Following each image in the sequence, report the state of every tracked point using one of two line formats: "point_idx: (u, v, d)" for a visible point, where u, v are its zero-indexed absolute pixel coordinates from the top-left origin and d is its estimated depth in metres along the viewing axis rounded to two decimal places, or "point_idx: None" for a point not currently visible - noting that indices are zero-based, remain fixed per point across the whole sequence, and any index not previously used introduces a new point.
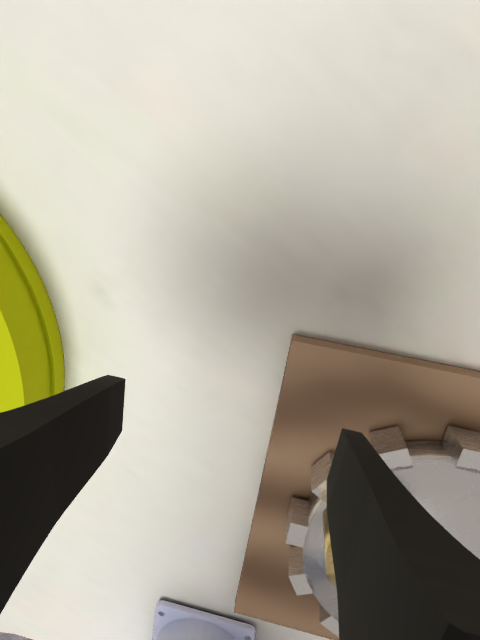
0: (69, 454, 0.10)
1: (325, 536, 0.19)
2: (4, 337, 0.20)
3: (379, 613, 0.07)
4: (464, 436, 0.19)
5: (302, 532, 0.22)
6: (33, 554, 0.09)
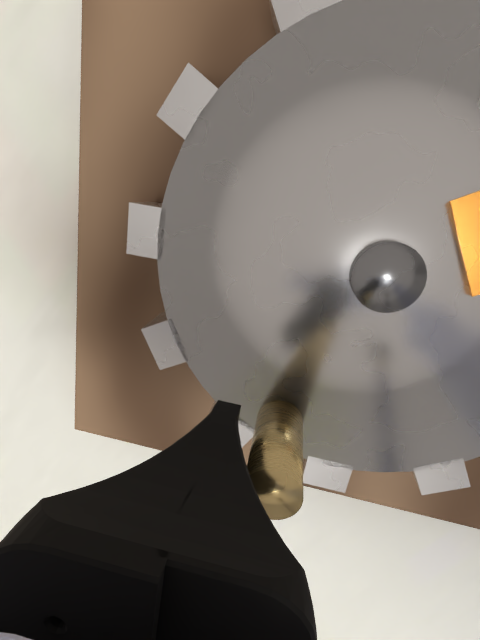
0: None
1: None
2: None
3: None
4: None
5: (319, 468, 0.13)
6: None
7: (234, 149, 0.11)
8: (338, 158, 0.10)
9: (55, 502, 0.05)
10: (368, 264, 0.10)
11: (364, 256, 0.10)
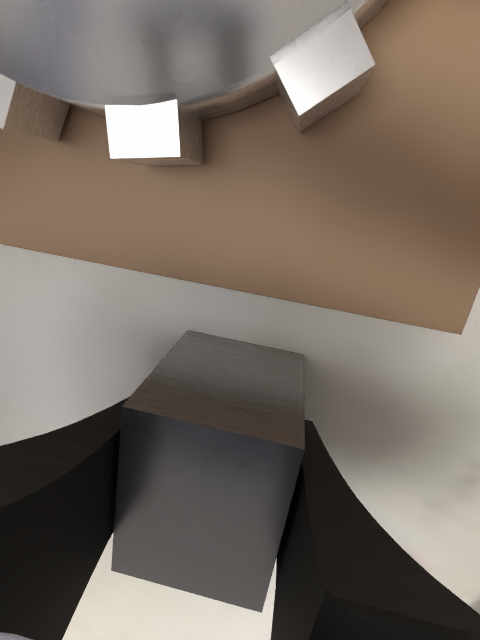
0: None
1: None
2: None
3: (294, 590, 0.07)
4: None
5: None
6: (91, 571, 0.09)
7: None
8: None
9: None
10: None
11: None
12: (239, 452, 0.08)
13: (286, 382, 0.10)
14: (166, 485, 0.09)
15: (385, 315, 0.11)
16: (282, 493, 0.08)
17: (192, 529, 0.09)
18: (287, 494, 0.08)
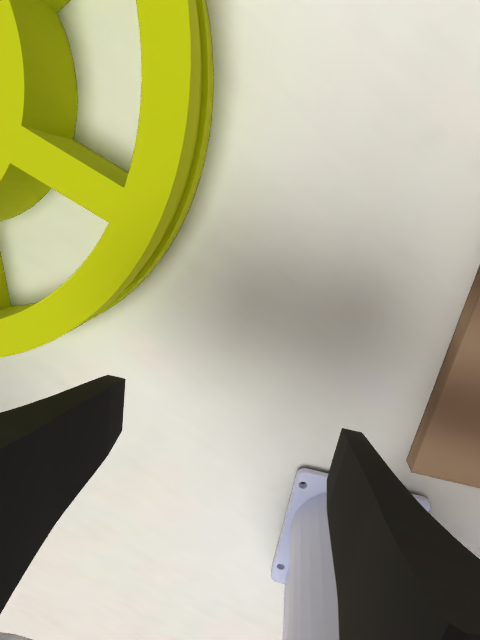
0: (69, 454, 0.10)
1: None
2: None
3: (379, 613, 0.07)
4: None
5: None
6: (33, 554, 0.09)
7: None
8: None
9: None
10: None
11: None
12: None
13: None
14: None
15: None
16: None
17: None
18: None
